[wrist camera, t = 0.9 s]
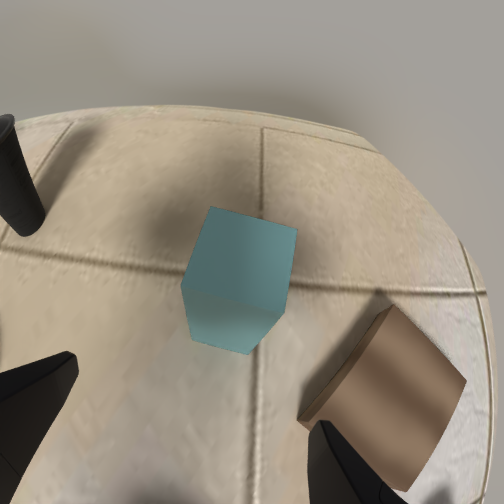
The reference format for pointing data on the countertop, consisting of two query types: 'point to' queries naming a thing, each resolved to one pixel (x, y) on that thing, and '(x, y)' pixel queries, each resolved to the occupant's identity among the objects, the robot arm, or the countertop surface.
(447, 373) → the walnut base
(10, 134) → the drinking cup
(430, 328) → the countertop surface
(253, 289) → the teal block
